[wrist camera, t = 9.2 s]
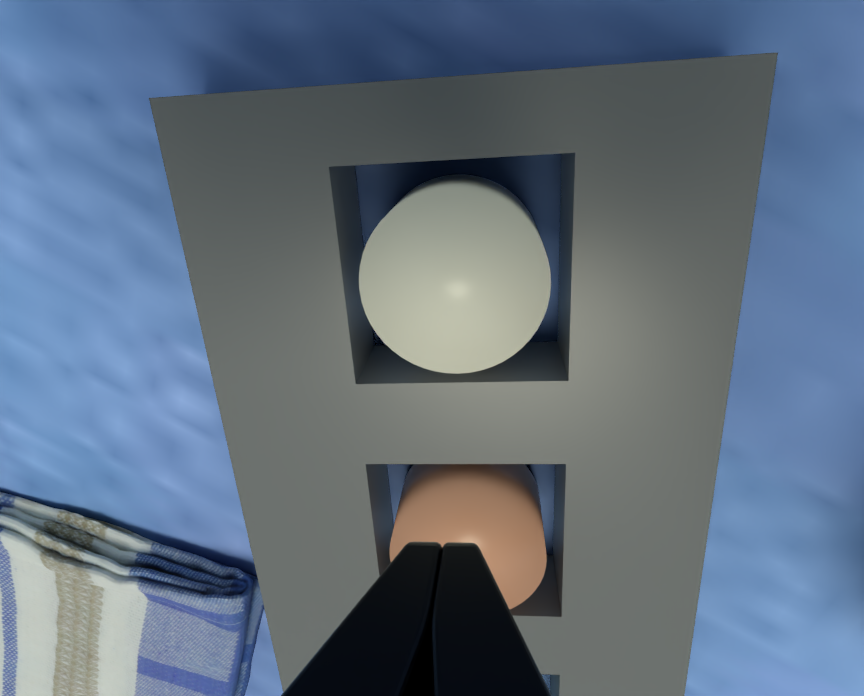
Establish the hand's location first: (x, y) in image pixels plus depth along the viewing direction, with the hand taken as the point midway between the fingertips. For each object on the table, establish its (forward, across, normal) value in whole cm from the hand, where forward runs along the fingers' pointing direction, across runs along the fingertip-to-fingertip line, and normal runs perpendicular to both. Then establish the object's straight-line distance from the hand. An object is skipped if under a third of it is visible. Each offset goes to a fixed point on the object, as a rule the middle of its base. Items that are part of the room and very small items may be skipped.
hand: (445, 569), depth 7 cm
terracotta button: (+12, 0, +8) cm, 15 cm away
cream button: (+12, 0, -1) cm, 12 cm away
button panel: (+13, 0, +8) cm, 15 cm away
